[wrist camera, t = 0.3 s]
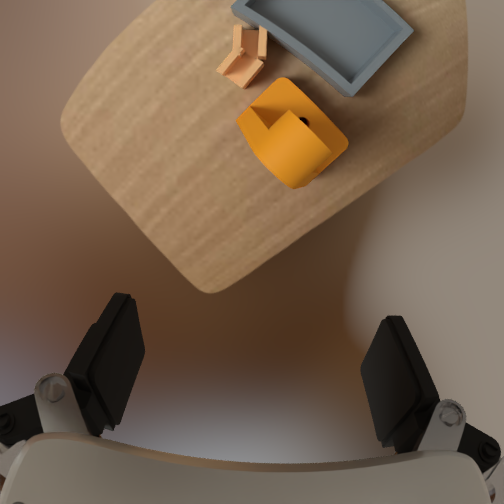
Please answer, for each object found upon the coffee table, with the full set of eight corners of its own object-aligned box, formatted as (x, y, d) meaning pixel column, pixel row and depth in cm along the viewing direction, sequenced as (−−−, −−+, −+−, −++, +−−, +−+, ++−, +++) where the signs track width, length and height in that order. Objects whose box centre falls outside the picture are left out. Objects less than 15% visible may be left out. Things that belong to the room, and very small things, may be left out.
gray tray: (297, -46, 21) (300, -58, 18) (401, 34, 26) (414, 30, 22) (233, 14, 26) (230, 7, 23) (344, 96, 30) (352, 96, 27)
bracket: (346, 140, 33) (380, 162, 23) (303, 179, 36) (318, 218, 25) (281, 75, 30) (289, 65, 19) (237, 118, 33) (224, 129, 22)
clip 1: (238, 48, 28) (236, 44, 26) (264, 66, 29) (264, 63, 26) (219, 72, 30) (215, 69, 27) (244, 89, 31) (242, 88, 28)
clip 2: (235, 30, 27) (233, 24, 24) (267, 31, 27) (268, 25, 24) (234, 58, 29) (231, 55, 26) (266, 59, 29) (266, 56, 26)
